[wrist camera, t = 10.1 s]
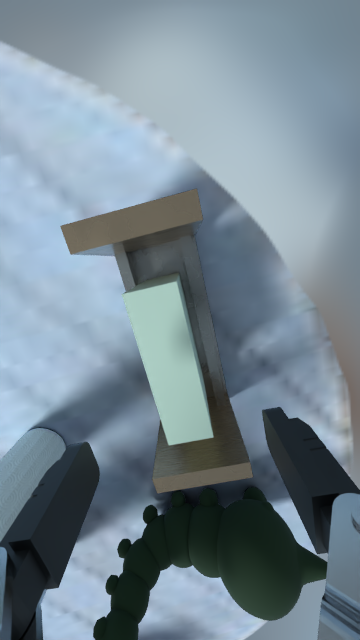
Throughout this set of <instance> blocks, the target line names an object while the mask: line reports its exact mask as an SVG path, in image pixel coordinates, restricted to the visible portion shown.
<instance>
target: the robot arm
mask: <svg viewBox="0 0 360 640" xmlns="http://www.w3.org/2000/svg"><path fill="white" fill-rule="evenodd" d="M262 415H263V421H264V428H265V434H266V440H267V444H268V447H269V450H270V453H271V455H272V457H273V460H274V462H275V464H276V466H277V468H278V470H279V473H280V475H281V477H282V479H283V481H284V483H285V486H286V488H287V490H288V492H289V494H290V496H291V499H292V501H293V503H294V505H295V507H296V509H297V512H298V514H299V516H300V518H301V520H302V522H303V525H304V527H305V529H306V531H307V533H308V535H309V538H310V540H311V542H312V544H313V546H314V548H315V551H316V553H317V554H321V553H328V564H327V575H326V586H325V593H324V595H323V597H322V602H321V610H320V619H319V628H318V640H360V490H359V489H358V488H357V486H356V485H355V484H354V482H353V481H352V480H351V479H350V477H349V476H348V475H347V473H346V472H345V471H344V469H343V468H342V467H341V466H340V464H339V463H338V462H337V460H336V459H335V458H334V457H333V455H332V454H331V453H330V451H329V450H328V449H326V446H325V445H324V444H323V442H322V441H321V440H320V439H319V438H318V436H317V435H316V433H315V432H314V431H313V430H312V428H311V427H310V426H309V425H308V424H306V423H305V422H303V421H302V420H300V419H299V418H292V419H288V417H287V416H286V414H285V413H284V411H283V410H282V408H280V407H277V408H271V409H266V410H262ZM99 476H100V471H99V466H98V464H97V461H96V459H95V457H94V454H93V452H92V449H91V447H90V445H89V443H88V442H83V443H78V444H73V445H69V446H68V447H67V449H66V450H65V452H64V453H63V455H62V457H61V458H60V460H57V461H56V462H55V463H54V464H53V465H52V466H51V467H50V468H49V469H48V470H47V471H46V473H45V474H44V476H43V477H42V479H41V480H40V482H39V483H38V487H36V488H35V490H34V491H33V493H32V494H31V497H30V498H29V499H28V500H27V502H26V503H25V505H24V507H23V508H22V510H21V511H20V513H19V514H18V516H17V517H16V519H15V520H14V522H13V523H12V525H11V527H10V528H9V530H8V531H7V533H6V534H5V536H4V537H3V539H2V540H1V542H0V640H43V630H42V610H41V603H42V600H43V598H44V595H45V593H46V590H47V589H53V588H59V585H60V582H61V580H62V577H63V574H64V572H65V569H66V567H67V564H68V561H69V559H70V556H71V553H72V551H73V548H74V546H75V543H76V540H77V538H78V535H79V532H80V530H81V527H82V525H83V522H84V519H85V517H86V514H87V511H88V509H89V506H90V504H91V501H92V498H93V496H94V493H95V490H96V488H97V485H98V482H99Z"/></svg>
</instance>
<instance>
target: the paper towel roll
mask: <svg viewBox="0 0 360 640" xmlns="http://www.w3.org/2000/svg"><path fill="white" fill-rule="evenodd" d="M65 450H66V446H65V443H64V441H63V439H62V438H61V437H60V436H59V435H58V434H57V433H56V432H53V431H51V430H49V429H43V428H36V429H32V430H30V431H28V432H27V433H25V434H24V435H23V436H22V437H21V438H20V439H19V440H18V441H17V443H16V444H15V445H14V446H13V447H12V448H11V449H10V450H9V451H8V453H7V454H6V455H5V456H4V457H3V458H2V459H1V460H0V542H1V540H2V539H3V537H4V536H5V534H6V533H7V531H8V530H9V528H10V527H11V525H12V523H13V522H14V520H15V519H16V517H17V516H18V514H19V513H20V511H21V510H22V508H23V507H24V505H25V503H26V502H27V500H28V499H29V498H30V497H31V494H32V493H33V491H34V490H35V488H36V487H38V483H39V482H40V480H41V479H42V477H43V476H44V474H45V473H46V471H47V470H48V469H49V468H50V467H51V466H52V465H53V464H54V463H55V462H56V461H57V460H60V458H61V457H62V455H63V453H64V452H65Z"/></svg>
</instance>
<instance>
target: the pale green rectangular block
mask: <svg viewBox="0 0 360 640" xmlns="http://www.w3.org/2000/svg"><path fill="white" fill-rule="evenodd" d="M122 297H123V300H124V303H125V306H126V310H127V313H128V316H129V319H130V322H131V326H132V329H133V332H134V335H135V339H136V342H137V345H138V348H139V351H140V355H141V358H142V361H143V364H144V368H145V371H146V374H147V377H148V380H149V384H150V387H151V390H152V393H153V396H154V400H155V403H156V406H157V409H158V413H159V416H160V419H161V422H162V425H163V429H164V432H165V435H166V438H167V442H168V445H174V444H180V443H186V442H191V441H197V440H202V439H208V438H213V431H212V426H211V420H210V414H209V408H208V403H207V397H206V391H205V385H204V379H203V374H202V370H201V365H200V361H199V357H198V352H197V348H196V344H195V340H194V335H193V331H192V327H191V322H190V318H189V314H188V309H187V305H186V301H185V296H184V292H183V288H182V283H181V279H180V275H179V272H178V273H174V274H170V275H166V276H162V277H158V278H153V279H149V280H145V281H144V282H142V283H140V284H139V285H137V286H135V287H134V288H132V289H130V290H129V291H127V292H125V293H123V294H122Z"/></svg>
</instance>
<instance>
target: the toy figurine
mask: <svg viewBox="0 0 360 640" xmlns="http://www.w3.org/2000/svg"><path fill="white" fill-rule="evenodd" d="M199 500H200V504H199V505H198V506H196V507H194V506H192V505H191V504H188V503H185V501H186V500H185V496H184V494H183V493H182V492H181V491H176V492H174V493H173V494H172V497H171V503H172V505H173V506H172V507H171V508H170V509H169V510H168V511H167V512H166V514H165V515H159V516H158V513H157V509H156V507H154V506H153V505H150V506H147V507H146V508H145V510H144V512H143V520H144V522H145V523H146V524H147V526H146V528H145V529H144V532H143V535H142V538H140V539H137V540H136V541H135V542H134V543H133V544H131V542H130V540H129V539H122V541H121V542H120V543H119V546H118V549H117V550H118V554H119V557H121V558H124V564H123V573H122V574H121V575H120V576H119V578H118V576H117V575H111V576H110V577H109V578H108V580H107V583H106V592H107V593H108V594H109V595H111V611H110V613H109V614H108V615H107V617H105V616H104V617H102V618H100V619H99V620H97V622H96V624H95V626H94V633H93V637H94V638H95V640H138V631H139V629H138V624H139V623H140V622H141V620H142V618H143V617H144V615H145V613H146V610H147V607H148V602H149V596H150V590H151V589H152V588H153V587H154V585H155V584H156V582H157V580H158V577H159V575H160V571H161V570H165V569H167V568H168V567H170V565H171V564H173V565H175V566H177V567H180V568H187V567H190V566H192V565H193V566H194V567H195V568H196V569H197V570H198V571H199V572H200V573H201V574H203V575H204V576H207V577H210V578H219V577H221V579H222V581H223V583H224V585H225V587H226V589H227V590H228V592H229V594H230V595H231V597H232V598H233V599H234V600H235V602H236V603H237V604H238V605H239V606H240V607H241V608H242V609H243V610H245V611H246V612H248V613H249V614H251V615H253V616H255V617H258V618H260V619H263V620H269V621H272V620H277V619H280V618H282V617H284V616H285V615H287V614H288V613H289V612H290V611H291V609H292V608H293V607H294V606H295V604H296V603H297V600H298V598H299V596H300V593H301V589H302V587H303V585H305V584H307V583H310V582H314V581H318V580H323V579H326V575H327V564H328V562H326V561H325V560H323V559H321V558H320V557H318V556H317V555H315V554H313V553H312V552H310V551H308V550H307V549H305V548H304V547H302V546H301V545H299V544H298V543H297V542H296V540H295V538H294V536H293V534H292V532H291V530H290V529H289V527H288V526H287V524H286V523H285V521H284V520H283V519H282V517H281V516H280V515H279V514H278V513H277V512H276V511H275V510H274V509H273V506H272V505H271V504H270V503H269V502H267V500H266V498H265V496H264V494H263V493H262V491H261V490H259V489H258V488H255V487H251V488H248V489H247V490H246V491H245V493H244V496H243V499H242V500H238V501H236V502H234V503H232V504H230V505H229V506H228V507H227V508H226V509H225V508H223V507H222V506H221V505H219V504H218V503H219V502H218V498H217V495H216V492H215V491H214V490H212V489H210V488H206V489H203V490H202V492H201V494H200V495H199Z"/></svg>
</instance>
